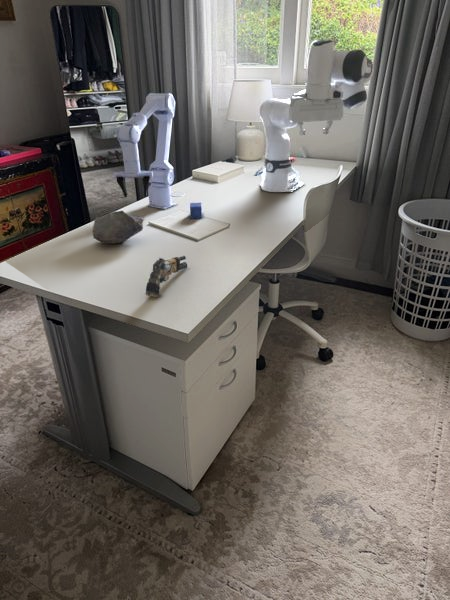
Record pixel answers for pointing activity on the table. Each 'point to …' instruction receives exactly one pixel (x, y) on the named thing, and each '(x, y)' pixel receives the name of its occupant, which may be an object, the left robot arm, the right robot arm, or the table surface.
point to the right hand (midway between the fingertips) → (313, 134)
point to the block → (195, 210)
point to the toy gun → (163, 273)
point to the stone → (116, 227)
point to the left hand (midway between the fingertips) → (135, 196)
